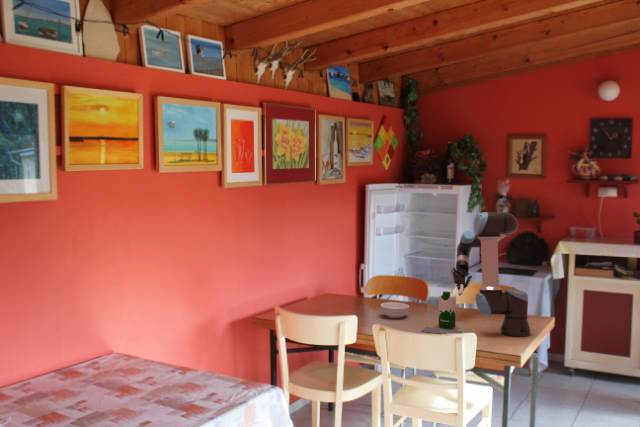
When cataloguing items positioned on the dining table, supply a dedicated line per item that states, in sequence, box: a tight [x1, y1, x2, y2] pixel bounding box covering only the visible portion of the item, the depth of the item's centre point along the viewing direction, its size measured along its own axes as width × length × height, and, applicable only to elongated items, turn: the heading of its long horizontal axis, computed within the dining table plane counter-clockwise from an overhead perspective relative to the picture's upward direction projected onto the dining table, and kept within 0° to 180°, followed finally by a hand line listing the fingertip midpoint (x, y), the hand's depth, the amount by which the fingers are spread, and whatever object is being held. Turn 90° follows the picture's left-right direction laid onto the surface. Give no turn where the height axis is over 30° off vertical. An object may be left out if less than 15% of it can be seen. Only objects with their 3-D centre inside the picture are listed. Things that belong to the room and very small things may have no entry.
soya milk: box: [438, 291, 457, 330], centre depth 350 cm, size 9×9×20 cm
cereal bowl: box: [380, 301, 410, 319], centre depth 373 cm, size 17×17×7 cm
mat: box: [420, 326, 463, 335], centre depth 341 cm, size 20×10×1 cm, turn 63°
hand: (460, 294), depth 358 cm, fingers closed
